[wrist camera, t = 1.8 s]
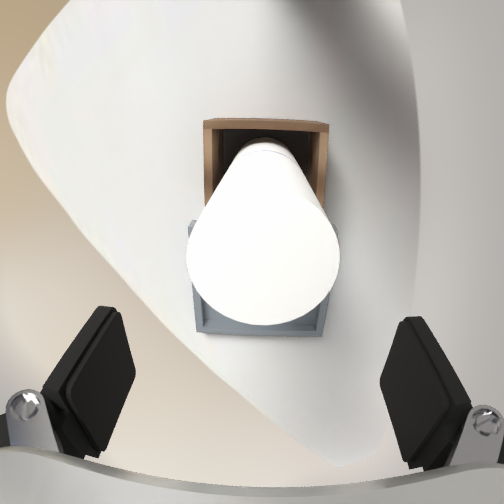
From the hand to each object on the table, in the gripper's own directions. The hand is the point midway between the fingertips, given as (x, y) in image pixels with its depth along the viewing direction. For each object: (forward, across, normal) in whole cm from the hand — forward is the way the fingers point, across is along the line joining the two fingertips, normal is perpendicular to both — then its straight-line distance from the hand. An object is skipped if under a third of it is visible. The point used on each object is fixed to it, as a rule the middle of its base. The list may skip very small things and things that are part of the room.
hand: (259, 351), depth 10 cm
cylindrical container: (+31, 0, -1) cm, 31 cm away
